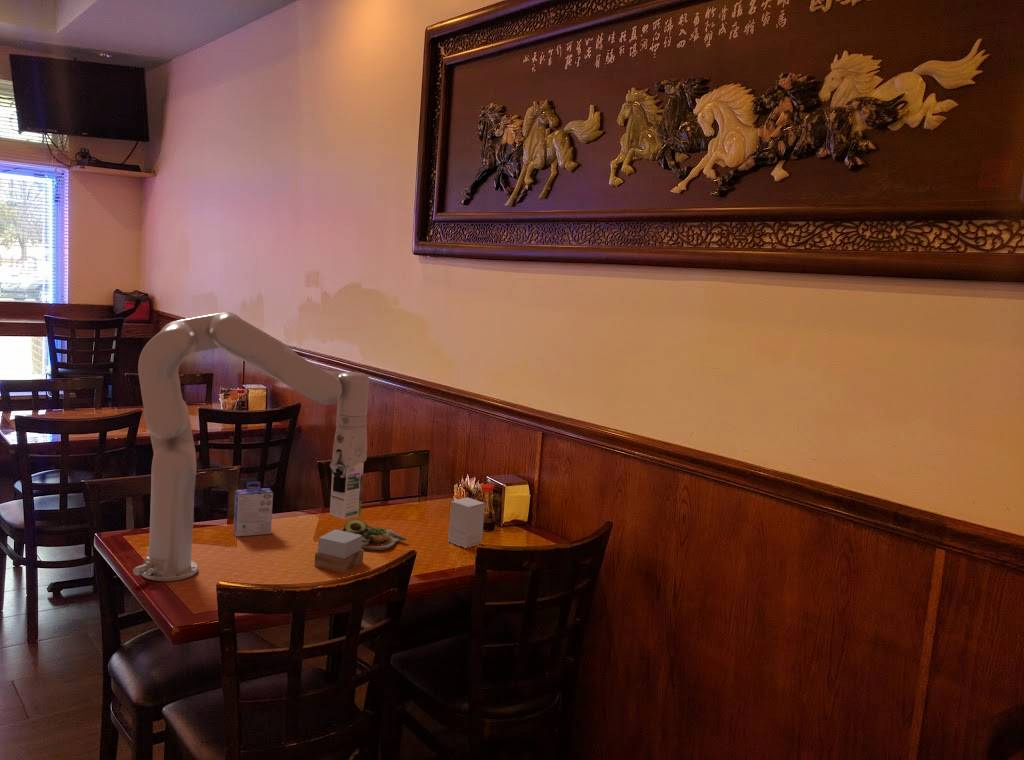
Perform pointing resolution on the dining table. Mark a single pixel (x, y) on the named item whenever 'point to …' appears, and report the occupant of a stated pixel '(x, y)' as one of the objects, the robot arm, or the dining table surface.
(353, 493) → the syrup box
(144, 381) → the robot arm
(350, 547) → the grey block
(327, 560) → the walnut block
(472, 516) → the supplement box
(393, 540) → the salad plate
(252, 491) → the ink cartridge box
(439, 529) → the dining table surface
